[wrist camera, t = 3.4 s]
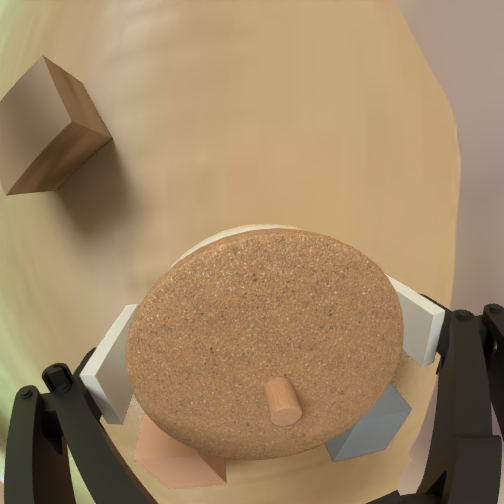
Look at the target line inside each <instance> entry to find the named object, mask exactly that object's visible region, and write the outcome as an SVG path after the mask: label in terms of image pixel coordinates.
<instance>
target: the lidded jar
mask: <svg viewBox="0 0 504 504" xmlns="http://www.w3.org/2000/svg"><path fill="white" fill-rule="evenodd" d="M403 339H404V321H403V313H402V308H401V305H400V302H399V298H398V295H397V293H396V291H395V289H394V287H393V286H392V284H391V282H390V280H389V279H388V277H387V276H386V275H385V274H384V272H383V271H382V270H381V269H380V268H379V267H378V266H377V265H376V263H374V262H373V261H372V260H370V259H369V258H368V257H366V256H365V255H364V254H362V253H361V252H360V251H358V250H357V249H355V248H353V247H351V246H349V245H347V244H344V243H342V242H340V241H338V240H336V239H334V238H331V237H329V236H325V235H321V234H317V233H314V232H310V231H308V230H304V229H300V228H296V227H292V226H288V225H275V224H255V225H244V226H240V227H236V228H232V229H228V230H225V231H222V232H220V233H218V234H215V235H213V236H211V237H208V238H207V239H205V240H203V241H202V242H200V243H199V244H197V245H196V246H194V247H193V248H191V249H190V250H188V251H187V252H186V253H184V254H183V255H182V256H181V257H180V258H179V259H178V260H177V261H176V262H175V263H174V264H172V266H171V267H170V268H169V270H168V271H167V272H166V273H165V274H164V275H163V276H162V277H161V278H160V279H159V280H158V281H157V282H156V283H155V285H154V286H153V287H152V289H151V290H150V292H149V293H148V294H147V296H146V297H145V298H144V300H143V301H142V303H141V305H140V306H139V308H138V310H137V313H136V315H135V317H134V319H133V321H132V324H131V326H130V329H129V334H128V338H127V343H126V370H127V375H128V379H129V383H130V386H131V388H132V391H133V393H134V395H135V398H136V400H137V401H138V403H139V404H140V406H141V407H142V409H143V410H144V412H145V413H146V414H147V416H148V417H149V418H150V419H151V420H152V421H153V422H154V423H155V424H156V425H157V426H158V427H159V428H160V429H161V430H162V431H164V432H165V433H166V434H168V435H169V436H170V437H172V438H174V439H175V440H177V441H179V442H180V443H182V444H184V445H186V446H188V447H190V448H193V449H195V450H198V451H200V452H203V453H207V454H210V455H214V456H217V457H223V458H230V459H240V460H262V459H272V458H279V457H285V456H289V455H293V454H296V453H300V452H303V451H306V450H309V449H311V448H314V447H317V446H319V445H321V444H323V443H325V442H327V441H329V440H331V439H333V438H335V437H336V436H338V435H339V434H341V433H343V432H344V431H346V430H347V429H349V428H350V427H351V426H353V425H354V424H355V423H356V422H357V421H359V420H360V419H361V418H362V417H363V416H364V415H365V414H366V413H367V412H368V411H369V410H370V409H371V408H372V407H373V406H374V405H375V404H376V402H377V401H378V400H379V398H380V397H381V396H382V394H383V393H384V392H385V390H386V388H387V387H388V385H389V383H390V382H391V380H392V378H393V376H394V374H395V371H396V368H397V366H398V363H399V360H400V356H401V352H402V348H403Z"/></svg>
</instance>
